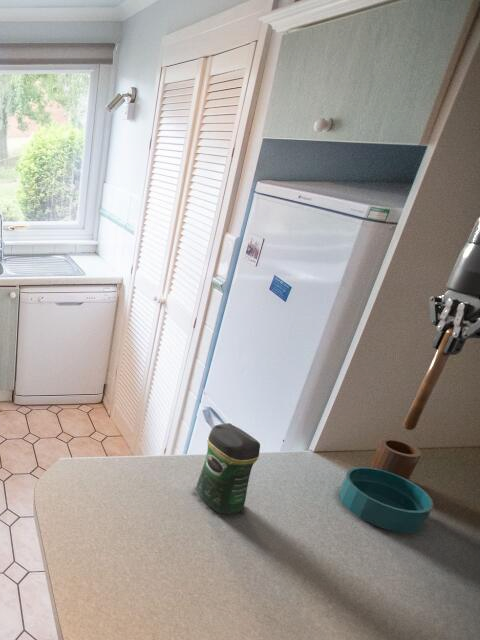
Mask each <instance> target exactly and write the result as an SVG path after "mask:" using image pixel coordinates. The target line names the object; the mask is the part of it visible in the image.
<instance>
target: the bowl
mask: <svg viewBox="0 0 480 640" xmlns="http://www.w3.org/2000/svg"><path fill="white" fill-rule="evenodd" d="M338 497H339V499H340V501H341V503H342V504H343V505H344V506H345V507H346V508H347V509H348V510H349V512H351V513H353V514H354V515H356V516H357V517H358V518H360V519H362V520H364V521H366V522H368V523H369V524H371V525H373V526H376V527H379V528H382V529H385V530H388V531H392V532H397V533H408V534H412V533H415V532H420V531H421V530H422V528H423V527H424V525H426V522H427V520H428V519H429V516H430V514H431V512H432V510H433V508H434V500H433V499H432V498H431V496H430V495H429V494H428V492H426V491H425V490H424V489H423V488H422V487H420V486H419V485H417V484H416V483H414V482H412V481H411V480H410V479H409V480H407V479H405V478H403V477H401V476H398V475H396V474H394V473H391V472H388V471H384V470H381V469H376V468H371V467H369V466H355V467H352V468H350V469H348V470H347V471H346V473H345V476H344V478H343V480H342V482H341V486H340V488H339V491H338Z"/></svg>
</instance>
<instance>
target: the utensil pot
mask: <svg viewBox="0 0 480 640" xmlns="http://www.w3.org/2000/svg"><path fill="white" fill-rule="evenodd" d="M421 456H422V451H421V450H420V449H419V448H418V447H416V446H415V445H413V444H411V443H409V442H407V441H404V440H401V439H398V438H391V437H385V438H384V437H383V438H381V439H380V441H379V443H378V446H377V448H376V450H375V452H374V455H373V457H372V460H371V462H370V464H369V466H368V467H371V468H376V469H381V470H384V471H388V472H391V473H394V474H396V475H398V476H401V477H403V478H405V479H407V480H409V481H410V479H411V477H412V475H413V474H414V471H415V468H416V467H417V465H418V463H419V460H420V458H421Z"/></svg>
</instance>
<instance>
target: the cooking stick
mask: <svg viewBox="0 0 480 640" xmlns="http://www.w3.org/2000/svg"><path fill="white" fill-rule="evenodd" d="M453 330H454V328H450V329H448V330H447V331H446V332H445V334H444V337H443V339H442V341H441V343H440V345H439V347H438V349H436V352H435V354H434V357H433V358H432V361H431V363H430V364H429V367H428V369H427V371H426V374H425V376H424V378H423V380H422V382H421V384H420V387H419V388H418V391H417V393H416V395H415V398H414V399H413V402H412V404H411V406H410V408H409V411H408V412H407V414H406V417H405V420H403V421H404V422H403V425H402V426H403V428H404V429H405V430H407V431H413V430H415V429H416V428H417V425H418V423H419V421H420V419H421V417H422V415H423V413H424V411H425V409H426V407H427V404H428V403H429V401H430V398H431V396H432V394H433V392H434V390H435V388H436V385H437V384H438V381H439V379H440V377H441V375H442V373H443V371H444V369H445V367H446V364H447V362H448V360H449V359H450V356H451V355H448V354H445V353H444V352H443V351H444V349H445V347H446V345H447V343H448V340H449V338H450V336H452V333H453Z"/></svg>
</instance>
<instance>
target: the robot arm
mask: <svg viewBox="0 0 480 640" xmlns="http://www.w3.org/2000/svg"><path fill="white" fill-rule="evenodd" d="M457 257H458V258H457V259H456V262H455V264H454V266H453V268H452V271H451V273H450V275H449V277H448V279H447V282H446V284H445V287H446V289H447V291H446V292H444V294H443V295H439V296H430V297H429V299H428V306H429V323H430V325H432V326H435V327H436V330H437V332H436V334H435V336H434V339H433V341H432V348H433V349H435V350H438V347H439V345H440V343H441V341H442V339H443V337H444V334H445V332H446V331H447V330H448V329H450V328H454V330H453V333H452V336H450V338H449V340H448V343H447V345H446V347H445V349H444V351H443V352H444V353H445V354H448V355H450V356H455V355H458V354H460V353H461V352H462V350H463V347H464V345H465V343H466V342H467V340H468V339H480V215H479V216H478V218H477V219H476V220H475V223H474V226H473V227H472V230H471V231H470V234H469V237H468V239H467V241H466V243H465V244H464V247H463V248H462V249H461V251H460V253H459V255H458V256H457Z"/></svg>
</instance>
